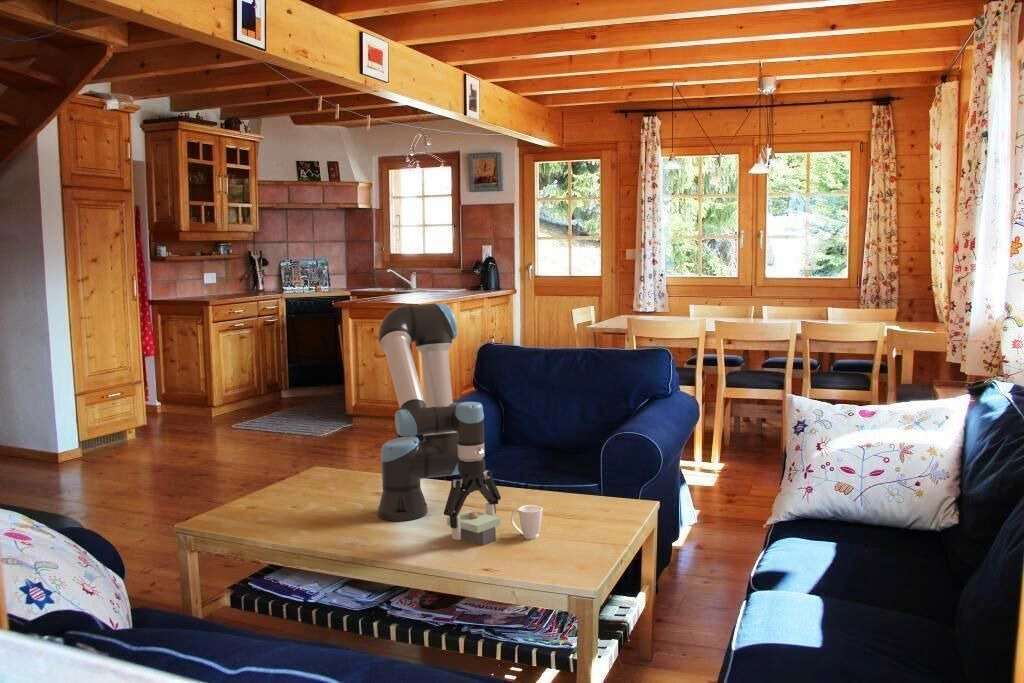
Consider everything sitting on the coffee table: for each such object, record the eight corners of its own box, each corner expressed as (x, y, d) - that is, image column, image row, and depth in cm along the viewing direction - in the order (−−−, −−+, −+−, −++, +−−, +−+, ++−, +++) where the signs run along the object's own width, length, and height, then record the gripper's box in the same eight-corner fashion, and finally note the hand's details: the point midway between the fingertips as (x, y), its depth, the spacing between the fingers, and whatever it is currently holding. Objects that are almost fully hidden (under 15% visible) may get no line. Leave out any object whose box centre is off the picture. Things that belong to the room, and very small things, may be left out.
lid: (447, 524, 244) (446, 513, 244) (469, 516, 251) (469, 506, 251) (477, 533, 236) (477, 521, 236) (500, 524, 243) (499, 513, 243)
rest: (452, 536, 246) (452, 522, 246) (465, 532, 250) (465, 518, 249) (483, 545, 238) (482, 531, 238) (495, 540, 242) (495, 526, 241)
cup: (534, 542, 240) (534, 513, 239) (505, 536, 245) (504, 508, 245) (548, 534, 245) (547, 506, 245) (519, 529, 251) (518, 501, 250)
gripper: (448, 469, 230) (451, 547, 232) (511, 451, 248) (513, 523, 250) (428, 465, 235) (431, 541, 237) (492, 447, 253) (494, 518, 256)
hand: (474, 532), depth 244 cm, fingers open, 13 cm apart
